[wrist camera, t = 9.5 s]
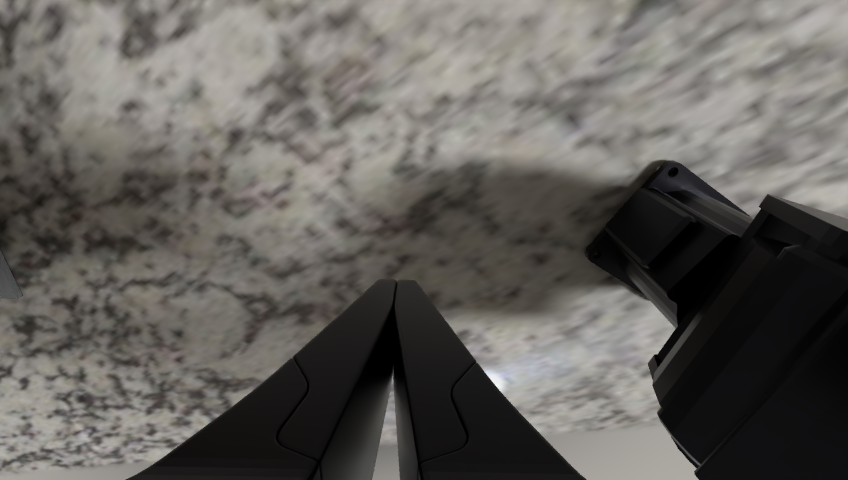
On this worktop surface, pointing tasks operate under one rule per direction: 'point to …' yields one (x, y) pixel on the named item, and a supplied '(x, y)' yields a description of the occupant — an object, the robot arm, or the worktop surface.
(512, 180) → the worktop surface
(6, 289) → the mat
